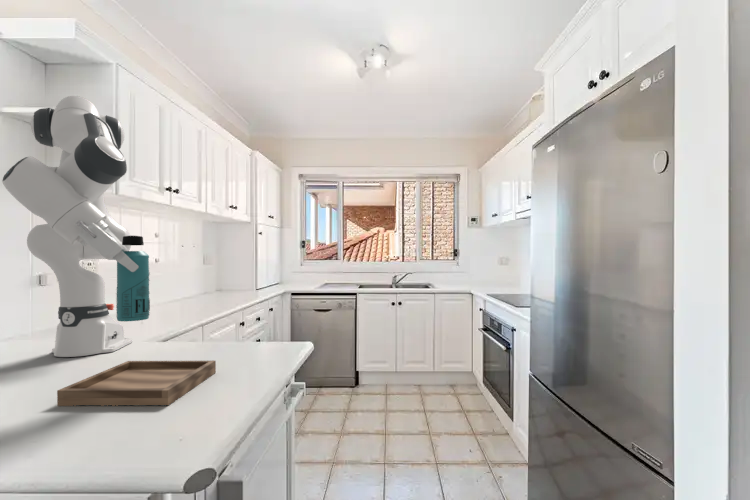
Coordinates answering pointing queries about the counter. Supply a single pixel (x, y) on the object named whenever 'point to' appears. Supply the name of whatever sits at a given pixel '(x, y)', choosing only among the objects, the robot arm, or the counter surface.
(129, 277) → the beverage bottle
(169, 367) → the walnut tray
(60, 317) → the robot arm
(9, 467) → the counter surface
